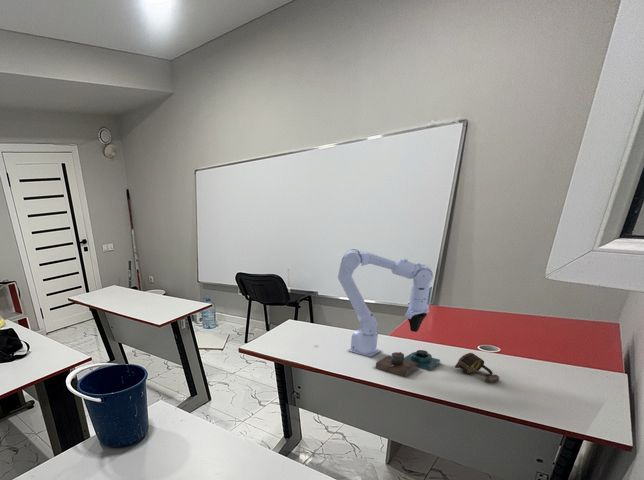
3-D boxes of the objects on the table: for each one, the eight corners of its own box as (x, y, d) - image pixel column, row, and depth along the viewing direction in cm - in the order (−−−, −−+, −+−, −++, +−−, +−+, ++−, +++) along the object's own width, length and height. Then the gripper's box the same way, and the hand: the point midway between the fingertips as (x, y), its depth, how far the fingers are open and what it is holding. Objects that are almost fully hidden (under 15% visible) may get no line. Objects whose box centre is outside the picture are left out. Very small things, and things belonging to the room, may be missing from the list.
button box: (401, 362, 141) (402, 354, 139) (411, 356, 144) (412, 348, 143) (429, 370, 133) (431, 362, 131) (439, 363, 137) (441, 355, 135)
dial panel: (375, 368, 139) (376, 362, 138) (387, 360, 143) (388, 354, 142) (405, 377, 130) (406, 370, 129) (417, 369, 135) (418, 362, 134)
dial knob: (399, 366, 133) (401, 356, 132) (388, 363, 136) (389, 354, 135) (405, 362, 135) (406, 353, 134) (394, 359, 138) (395, 350, 137)
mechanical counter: (483, 352, 129) (454, 348, 130) (510, 364, 117) (479, 360, 118) (475, 370, 132) (447, 367, 132) (502, 384, 119) (471, 380, 120)
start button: (414, 356, 138) (414, 352, 137) (418, 353, 140) (419, 349, 139) (424, 358, 135) (425, 354, 134) (428, 355, 137) (429, 351, 136)
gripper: (421, 304, 130) (416, 338, 135) (439, 294, 137) (434, 328, 142) (401, 301, 136) (396, 334, 141) (419, 292, 143) (414, 324, 148)
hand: (414, 331), depth 142 cm, fingers closed
